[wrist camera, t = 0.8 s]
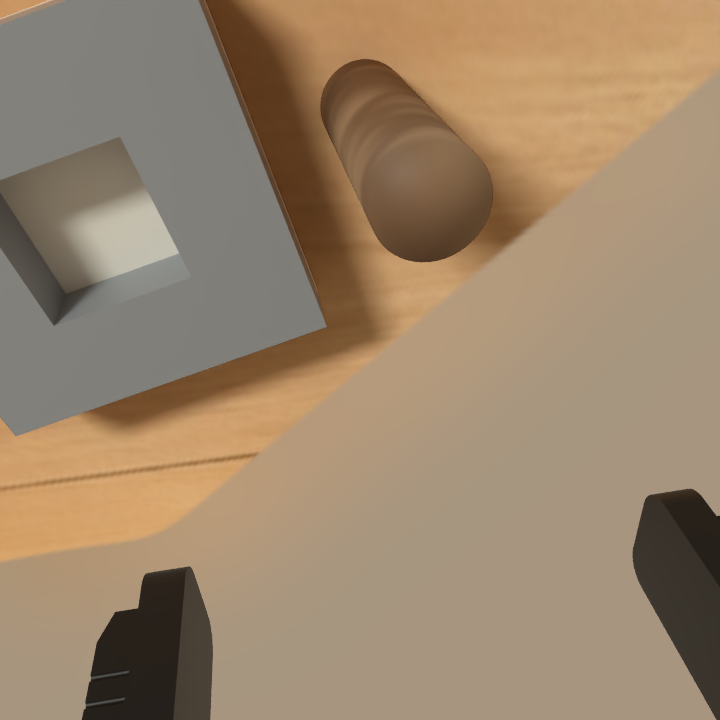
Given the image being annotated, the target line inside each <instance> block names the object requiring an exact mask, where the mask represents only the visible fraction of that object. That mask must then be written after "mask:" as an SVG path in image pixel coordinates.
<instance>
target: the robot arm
mask: <svg viewBox="0 0 720 720" xmlns="http://www.w3.org/2000/svg"><path fill="white" fill-rule="evenodd" d="M633 563H634V569H635V572H636V575H637V578H638V581H639V583H640V585H641V587H642V589H643V590H644V592H645V594H646V596H647V598H648V599H649V601H650V603H651V605H652V606H653V608H654V610H655V612H656V613H657V615H658V617H659V619H660V620H661V622H662V624H663V626H664V628H665V629H666V631H667V633H668V635H669V636H670V638H671V640H672V641H673V643H674V645H675V647H676V649H677V650H678V652H679V654H680V656H681V657H682V659H683V661H684V663H685V665H686V666H687V668H688V670H689V672H690V674H691V675H692V677H693V679H694V681H695V682H696V684H697V686H698V688H699V689H700V691H701V693H702V695H703V696H704V698H705V700H706V702H707V704H708V705H709V707H710V709H711V711H712V712H713V714H714V716H715V718H716V719H717V720H720V516H716V515H715V514H714V512H713V511H712V510H711V508H710V507H709V506H708V504H707V503H706V502H705V500H704V499H703V497H702V496H701V495H700V494H699V493H697V492H696V491H695V490H693V489H685V490H678V491H672V492H666V493H659V494H654V495H649V496H648V497H647V498H646V499H645V502H644V506H643V510H642V514H641V518H640V522H639V527H638V531H637V535H636V540H635V543H634V547H633ZM212 659H213V646H212V633H211V626H210V621H209V618H208V615H207V611H206V608H205V605H204V602H203V599H202V597H201V593H200V590H199V587H198V584H197V581H196V578H195V575H194V573H193V570H192V568H191V567H183V568H177V569H170V570H164V571H158V572H152V573H147V574H145V576H144V578H143V581H142V586H141V594H140V600H139V607H138V609H132V610H126V611H119V612H115V613H114V615H113V617H112V618H111V620H110V622H109V623H108V625H107V627H106V628H105V630H104V632H103V633H102V635H101V637H100V638H99V640H98V642H97V645H96V650H95V656H94V660H93V666H92V671H91V682H89V686H88V692H87V697H86V702H85V703H86V709H85V710H84V712H83V717H82V720H210V710H211V685H212Z"/></svg>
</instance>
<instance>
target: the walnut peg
mask: <svg viewBox="0 0 720 720" xmlns="http://www.w3.org/2000/svg"><path fill="white" fill-rule="evenodd" d="M321 116H322V120H323V123H324V126H325V128H326V130H327V132H328V134H329V136H330V139H331V141H332V143H333V145H334V147H335V149H336V152H337V154H338V156H339V158H340V160H341V162H342V164H343V167H344V169H345V171H346V173H347V175H348V177H349V180H350V182H351V184H352V186H353V188H354V190H355V192H356V195H357V197H358V199H359V201H360V203H361V205H362V207H363V210H364V212H365V214H366V216H367V218H368V220H369V223H370V225H371V227H372V229H373V231H374V233H375V235H376V237H377V238H378V240H379V241H380V242H381V244H382V245H383V246H384V247H385V248H386V249H387V250H388V251H390V252H391V253H393V254H394V255H396V256H398V257H400V258H403V259H406V260H409V261H414V262H432V261H438V260H441V259H445V258H447V257H450V256H452V255H454V254H456V253H457V252H459V251H461V250H462V249H464V248H465V247H466V246H467V245H469V244H470V243H471V242H472V241H473V240H474V239H475V238H476V236H477V235H478V234H479V233H480V231H481V230H482V228H483V227H484V225H485V223H486V221H487V219H488V216H489V214H490V210H491V207H492V200H493V187H492V181H491V177H490V174H489V172H488V169H487V167H486V166H485V164H484V163H483V161H482V160H481V159H480V158H479V156H478V155H477V154H476V153H475V152H474V151H473V150H472V149H471V148H470V147H469V146H468V145H467V144H466V143H465V142H464V141H463V140H462V139H461V138H460V137H459V136H458V135H457V134H456V133H455V132H454V131H453V130H452V129H451V128H450V127H449V126H448V125H447V124H446V123H445V122H444V121H443V120H442V119H441V118H440V117H439V116H438V115H437V114H436V113H435V112H434V111H433V110H432V109H431V108H430V107H429V106H428V105H427V104H426V103H425V102H424V101H423V100H422V99H421V98H420V97H419V96H418V95H417V94H416V93H415V92H414V91H413V90H412V89H411V88H410V87H409V86H408V85H407V84H406V83H405V82H404V81H403V80H402V78H401V77H400V76H399V75H398V74H397V73H396V72H395V71H393V70H392V69H391V68H390V67H389V66H387V65H386V64H383V63H381V62H379V61H375V60H370V59H362V60H356V61H352V62H350V63H348V64H345V65H344V66H342V67H341V68H339V69H338V70H337V71H336V72H335V73H334V74H333V75H332V76H331V77H330V79H329V80H328V82H327V84H326V85H325V88H324V90H323V93H322V97H321Z"/></svg>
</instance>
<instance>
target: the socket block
mask: <svg viewBox="0 0 720 720" xmlns="http://www.w3.org/2000/svg"><path fill="white" fill-rule="evenodd" d="M325 327H327V325H326V321H325V317H324V313H323V309H322V305H321V301H320V298H319V294H318V290H317V286H316V284H315V281H314V279H313V276H312V274H311V271H310V268H309V266H308V263H307V261H306V258H305V255H304V253H303V250H302V248H301V245H300V243H299V240H298V237H297V235H296V232H295V230H294V227H293V225H292V222H291V219H290V217H289V214H288V212H287V209H286V207H285V204H284V201H283V199H282V196H281V194H280V191H279V188H278V186H277V183H276V181H275V178H274V176H273V173H272V170H271V168H270V165H269V163H268V160H267V158H266V155H265V152H264V150H263V147H262V145H261V142H260V140H259V137H258V134H257V132H256V129H255V127H254V124H253V121H252V119H251V116H250V114H249V111H248V109H247V106H246V103H245V101H244V98H243V96H242V93H241V91H240V88H239V85H238V83H237V80H236V78H235V75H234V73H233V70H232V67H231V65H230V62H229V60H228V57H227V54H226V52H225V49H224V47H223V44H222V42H221V39H220V36H219V34H218V31H217V29H216V26H215V24H214V21H213V18H212V16H211V13H210V11H209V8H208V6H207V3H206V0H48V1H45V2H42V3H40V4H37V5H34V6H32V7H29V8H26V9H23V10H21V11H18V12H15V13H13V14H10V15H7V16H5V17H2V18H0V418H1V419H2V420H3V421H4V423H5V424H6V425H7V426H8V427H9V429H10V430H11V431H12V432H13V433H14V435H15V436H18V435H21V434H24V433H27V432H30V431H32V430H35V429H38V428H41V427H44V426H47V425H49V424H52V423H55V422H58V421H61V420H64V419H66V418H69V417H72V416H75V415H78V414H81V413H84V412H86V411H89V410H92V409H95V408H98V407H101V406H103V405H106V404H109V403H112V402H115V401H118V400H121V399H123V398H126V397H129V396H132V395H135V394H138V393H140V392H143V391H146V390H149V389H152V388H155V387H157V386H160V385H163V384H166V383H169V382H172V381H175V380H177V379H180V378H183V377H186V376H189V375H192V374H194V373H197V372H200V371H203V370H206V369H209V368H212V367H214V366H217V365H220V364H223V363H226V362H229V361H231V360H234V359H237V358H240V357H243V356H246V355H248V354H251V353H254V352H257V351H260V350H263V349H266V348H268V347H271V346H274V345H277V344H280V343H283V342H285V341H288V340H291V339H294V338H297V337H300V336H303V335H305V334H308V333H311V332H314V331H317V330H320V329H322V328H325Z"/></svg>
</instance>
